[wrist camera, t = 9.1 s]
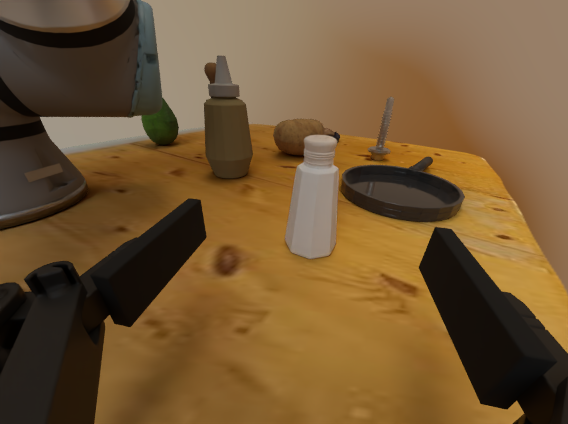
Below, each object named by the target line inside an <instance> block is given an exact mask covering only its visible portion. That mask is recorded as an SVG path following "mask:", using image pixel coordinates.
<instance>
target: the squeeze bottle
mask: <svg viewBox="0 0 568 424" xmlns="http://www.w3.org/2000/svg"><path fill="white" fill-rule="evenodd" d="M208 89H209V95H210V96H213V98H211V99H209V100H207V101H206V102H205V103H204V114H205V115H204V116H205V146H206V157H207V159H208V162H209V164H210V166H211V168H212V170H213V172H214V174H215V175H216V176H217V177H221V178H238V177H242V176H244V175H246V174H247V173H248V169H249V166H250V162H251V159H252V155H253V153H252V145H251V138H250V131H249V124H248V116H247V110H246V104H245V103H244V102H243V101H242V100H240V99H237V98H236V97H239V85H235V84H232V81H231V77H230V73H229V69H228V66H227V61H226V57H225V56H217V62H216V74H215V83H214V84H208Z"/></svg>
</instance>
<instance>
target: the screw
mask: <svg viewBox="0 0 568 424" xmlns="http://www.w3.org/2000/svg"><path fill="white" fill-rule="evenodd" d="M393 102H394V99H393V98H392V97H390V98H388V99H387V103H386V107H385V111H384V114H383V117H382V118H383V119H382V123H381V126H380V127H381V128H380V132H379V137H378V140H377V145H376V147H370V148H368V151H369V152H371V154H372V155H371V159H373V160H377V161H381V160H384V156H385V155H386V154H390V150H389V149H388V148H384V146H385V145H384V143H385V140H386V139H385V138H386V135H387V132H388V131H387V130H388V126H389V123H390V117H391V114H392V113H391V112H392V106H393Z"/></svg>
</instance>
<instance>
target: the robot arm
mask: <svg viewBox="0 0 568 424" xmlns="http://www.w3.org/2000/svg"><path fill="white" fill-rule="evenodd" d="M161 108H162V91H161V81H160V72H159V62H158V53H157V44H156V36H155V28H154V18H153V12H152V8H151V6H150V5H149V4H148V3H146V2H143V1H141V0H0V229H2V228H7V227H11V226H15V225H19V224H23V223H27V222H30V221H33V220H37V219H40V218H43V217H46V216H48V215H51V214H54V213H56V212H59V211H61V210H63V209H65V208H68V207H69V206H71V205H73V204H75V203H77V202H78V201H80V200H81V199H82V198H84V197H85V196H86V194H87V193H88V191H89V188H88V186H87V183H86V181H85V178H84V177H83V176H82V174H81V173H80V172H79V171H78V169H77V168H76V167H75V166H74V165H73V164H72V163H71V162H70V160H69V159H68V158H67V157H66V156H65V155H64V154H63V153H62V152H61V150H60V149H59V148H58V147H57V146H56V145H55V144H54V143H53V142H52V141H51V139H50V138H49V136H48V134H47V132H46V130H45V128H44V126H43V124H42V121H41V119H40V117H130V118H131V117H133V116H139V115H153V114H156V113H157V112H159V111H160V109H161ZM205 239H206V231H205V225H204V218H203V212H202V206H201V200H198V199H188V200H186V201H185V202H184V203H182V204H181V205H180V206H178V207H177V208H176V209H175V210H173V211H172V212H171V213H169V214H168V215H167V216H166V217H164V218H163V219H162V220H160V221H159V222H158V223H156V224H155V225H154V226H153V227H151V228H150V229H149V230H147V231H146V232H145V233H144V234H142V235H141V236H140V237H138V238H137V237H136V238H134V239H132V240H130V241H127V242H125V243H124V244H122V245H121V246H120V247H118V248H117V249H116V250H115V251H113V252H112V253H110V254H109V255H108V257H105V258H104V259H102V260H101V261H100V262H98V263H97V264H96V265H94V266H93V267H92V268H90V269H89V270H88V271H86V272H85V273H84V274H82V275H81V276H80V277H79V275H78V273H77V271H76V269H75V267H74V266H73V264H72V263H71V262H69V261H59V262H53V263H50V264H47V265H44V266H42V267H40V268H38V269H36V270H34V271H33V272H31V273H30V274H28V276H27V277H26V278H25V279H24V281H25V282H26V283H27V285H28V286H29V288H30V289H31V291H30V292H24V291H23V289H22V288H21V287H20V285H19V284H17V283H4V284H0V424H94V420H95V412H96V403H97V394H98V386H99V377H100V368H101V360H102V351H103V343H104V334H105V323H104V320H105V319H106V318H107V317H108V316H109V315H110V316H111V318H112V320H113V322H114V324H118V325H123V326H127V327H131V326H132V325H133V324H134V322H135V321H136V320H137V319H138V318H139V316H140V315H141V314H142V313H143V312H144V311H145V309H146V308H147V307H148V306H149V305H150V303H151V302H152V301H153V300H154V299H155V298H156V296H157V295H158V294H159V293H160V292H161V290H162V289H163V288H164V287H165V286H166V285H167V283H168V282H169V281H170V280H171V279H172V278H173V276H174V275H175V274H176V273H177V272H178V270H179V269H180V268H181V267H182V266H183V265H184V263H185V262H186V261H187V260H188V259H189V257H190V256H191V255H192V254H193V253H194V252H195V250H196V249H197V248H198V247H199V246H200V244H201V243H202V242H203V241H204V240H205ZM419 269H420V271H421V274H422V276H423V278H424V280H425V282H426V285H427V287H428V289H429V291H430V293H431V296H432V298H433V300H434V302H435V304H436V307H437V309H438V311H439V313H440V315H441V318H442V320H443V322H444V324H445V326H446V329H447V331H448V333H449V335H450V337H451V339H452V342H453V344H454V346H455V348H456V350H457V353H458V355H459V357H460V359H461V361H462V364H463V366H464V368H465V370H466V372H467V375H468V377H469V379H470V381H471V383H472V386H473V388H474V390H475V392H476V394H477V397H478V399H479V401H480V403H481V404H484V405H489V406H493V407H498V408H502V409H508V408H509V407H510V406H511V405H512V404H513V403H514V402H516V401H518V403H519V405H520V406H521V408H522V410H523V412H524V414H523V415H522V416H521V417H520V418H519V419H518V420H516V421H515V422H514V423H513V424H568V353H567V352H566V351H565V350H564V349H563V348H562V347H561V345H560V344H559V343H558V342H557V341H556V340H555V338H554V337H553V336H552V335H551V334H550V333H549V331H548V330H545V327H544V326H543V325H542V323H541V322H540V321H539V320H538V319H536V316H535V315H534V314H533V313H532V312H531V311H530V309H529V308H528V307H527V306H526V305H525V304H524V303H523V302H521V301H520V300H519V299H517V298H516V297H515V296H513V295H512V294H511V293H508V292H501V290H500V289H499V288H498V287H497V285H496V284H495V283H494V282H493V280H492V279H491V278H490V277H489V275H488V274H487V273H486V272H485V270H484V269H483V268H482V267H481V265H480V264H479V263H478V262H477V260H476V259H475V258H474V257H473V255H472V254H471V253H470V252H469V250H468V249H467V248H466V247H465V245H464V244H463V243H462V242H461V241H460V239H459V238H458V237H457V236H456V234H455V233H454V232H453V231H452V229H447V228H438V227H435V229H434V231H433V234H432V236H431V239H430V241H429V243H428V246H427V248H426V251H425V253H424V256H423V258H422V261H421V263H420V266H419Z"/></svg>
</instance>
